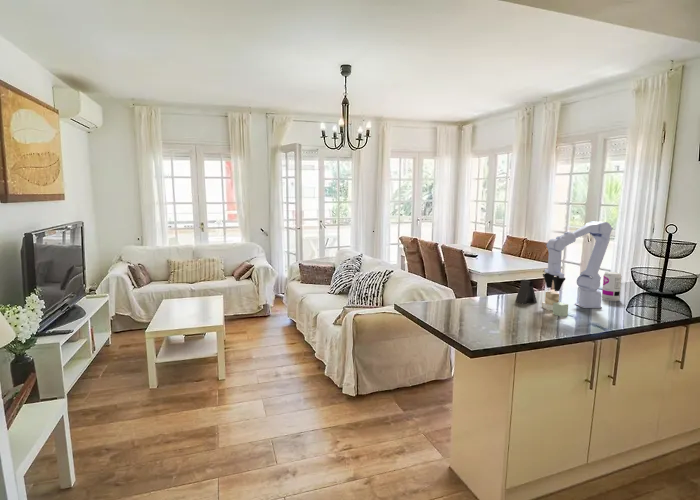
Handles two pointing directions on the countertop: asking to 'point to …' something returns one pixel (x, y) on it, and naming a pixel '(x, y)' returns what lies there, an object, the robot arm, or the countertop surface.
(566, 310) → the sage block
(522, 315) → the countertop surface
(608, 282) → the supplement can
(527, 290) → the door stopper
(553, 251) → the robot arm
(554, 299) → the beech block
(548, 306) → the pedestal block
